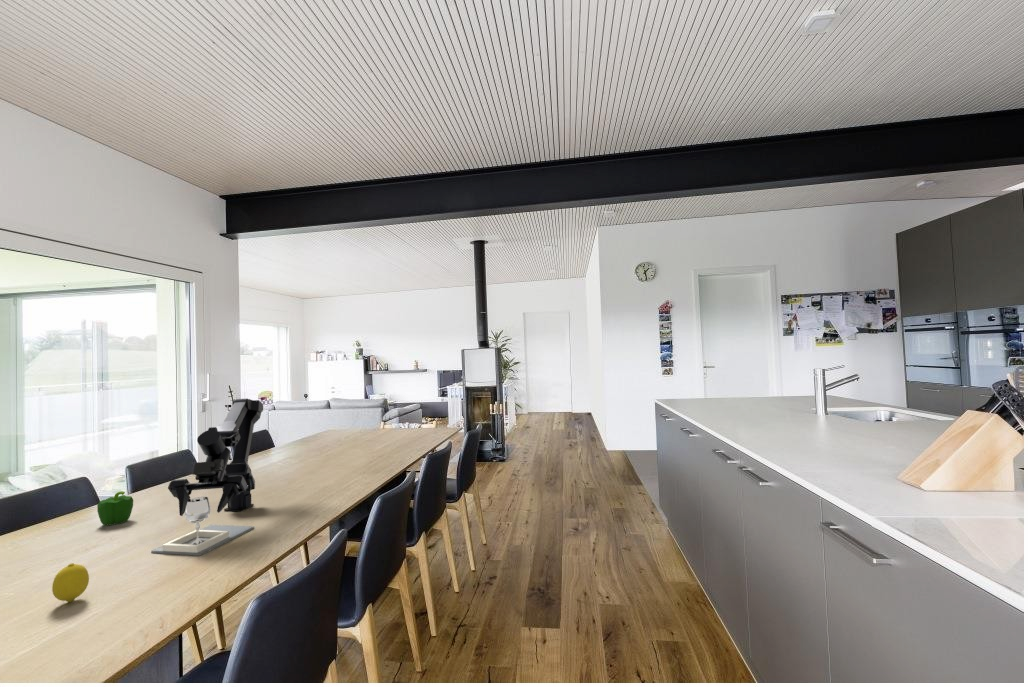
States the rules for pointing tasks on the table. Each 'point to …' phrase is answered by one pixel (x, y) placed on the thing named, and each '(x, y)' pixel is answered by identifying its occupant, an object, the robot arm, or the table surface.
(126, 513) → the bell pepper
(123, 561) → the table surface
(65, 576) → the lemon
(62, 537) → the table surface
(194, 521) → the wineglass
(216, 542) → the square frame board
